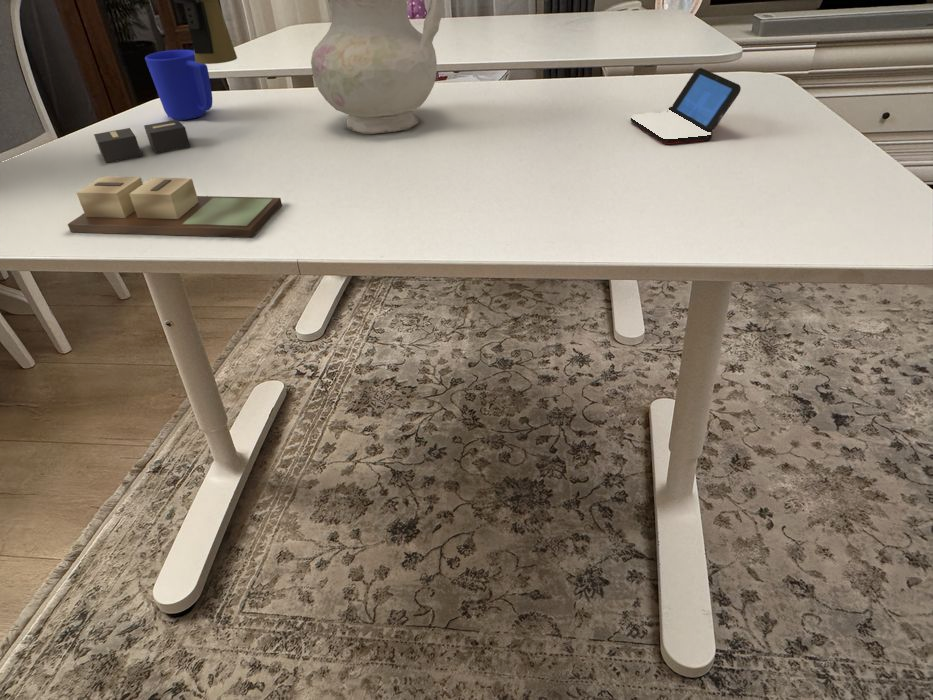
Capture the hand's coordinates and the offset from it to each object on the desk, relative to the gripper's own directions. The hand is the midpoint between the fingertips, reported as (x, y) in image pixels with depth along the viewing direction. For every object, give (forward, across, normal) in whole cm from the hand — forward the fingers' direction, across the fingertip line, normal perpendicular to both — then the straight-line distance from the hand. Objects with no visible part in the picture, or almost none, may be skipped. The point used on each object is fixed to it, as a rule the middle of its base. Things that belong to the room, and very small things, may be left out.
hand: (212, 49), depth 96 cm
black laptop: (+12, +3, -70) cm, 71 cm away
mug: (+13, +9, +11) cm, 19 cm away
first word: (+13, -8, +10) cm, 18 cm away
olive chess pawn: (+2, 0, 0) cm, 2 cm away
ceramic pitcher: (+12, +6, -24) cm, 28 cm away
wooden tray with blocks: (+13, -32, -8) cm, 36 cm away
